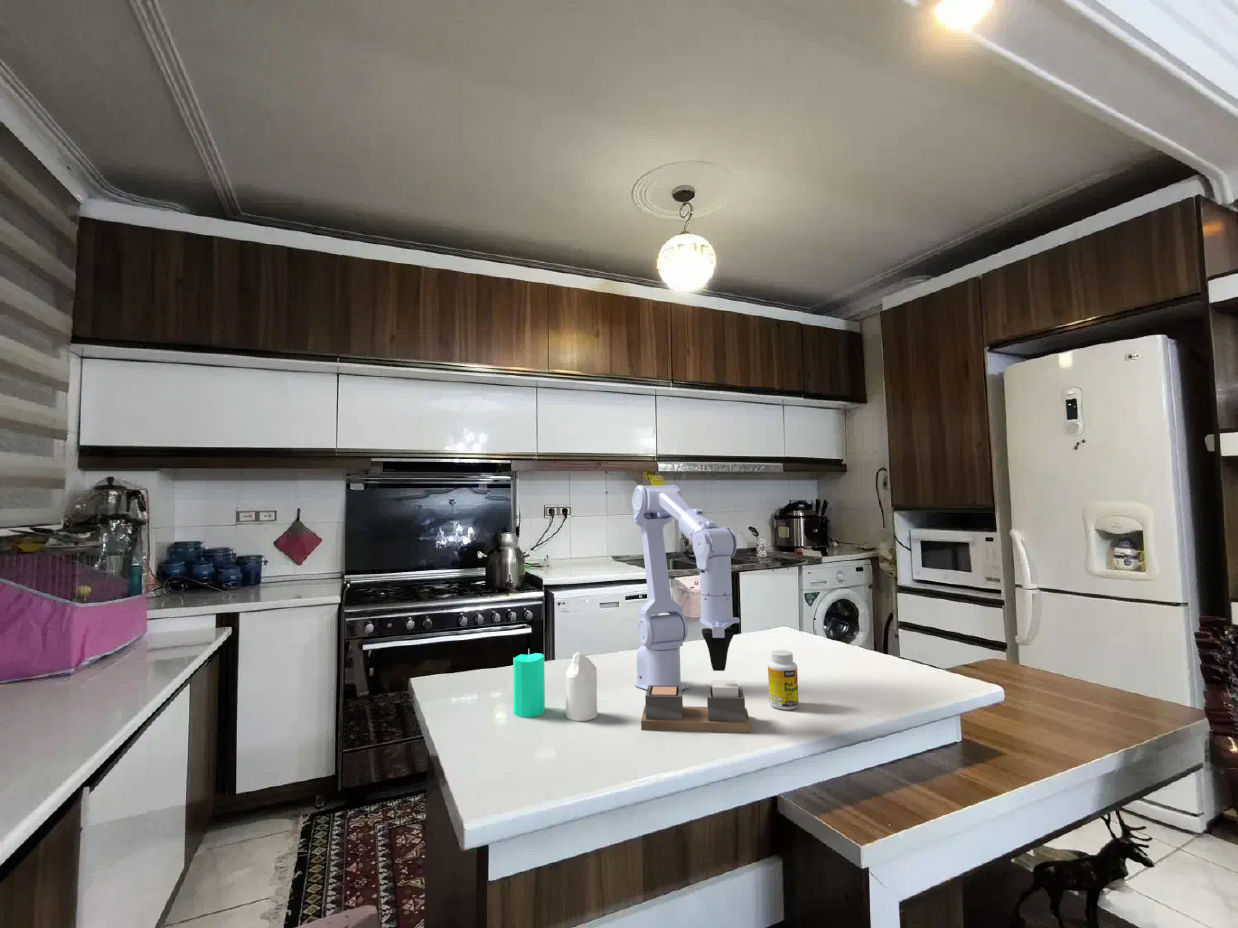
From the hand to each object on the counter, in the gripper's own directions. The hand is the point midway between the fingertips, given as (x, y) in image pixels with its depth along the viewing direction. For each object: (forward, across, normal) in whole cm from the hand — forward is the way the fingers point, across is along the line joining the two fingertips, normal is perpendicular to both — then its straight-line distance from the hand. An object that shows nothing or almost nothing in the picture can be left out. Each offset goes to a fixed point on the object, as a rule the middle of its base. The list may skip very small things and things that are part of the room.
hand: (718, 669), depth 103 cm
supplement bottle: (+10, +10, -13) cm, 19 cm away
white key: (+5, 0, -1) cm, 5 cm away
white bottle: (+10, +2, +26) cm, 28 cm away
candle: (+10, +3, +37) cm, 38 cm away
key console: (+9, 0, +4) cm, 10 cm away
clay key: (+6, 0, +10) cm, 12 cm away
